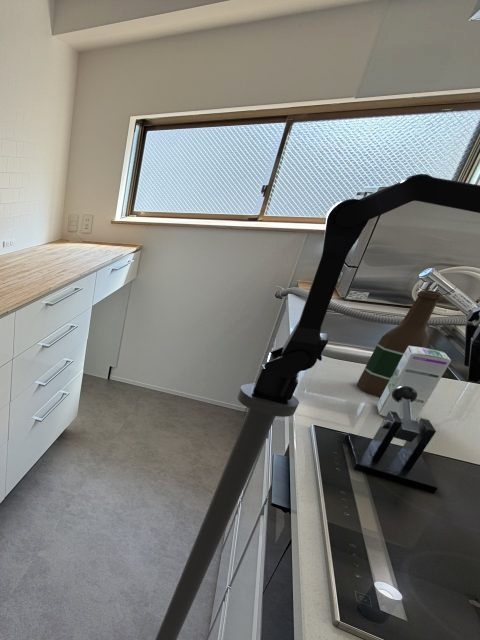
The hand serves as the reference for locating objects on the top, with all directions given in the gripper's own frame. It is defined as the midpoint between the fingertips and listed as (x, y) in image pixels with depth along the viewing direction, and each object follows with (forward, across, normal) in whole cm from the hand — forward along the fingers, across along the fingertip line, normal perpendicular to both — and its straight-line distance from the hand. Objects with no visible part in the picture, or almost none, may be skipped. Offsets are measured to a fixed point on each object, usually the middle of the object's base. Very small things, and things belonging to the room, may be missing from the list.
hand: (470, 373), depth 71 cm
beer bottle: (+15, +24, +8) cm, 30 cm away
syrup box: (+15, +12, +4) cm, 20 cm away
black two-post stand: (+15, -14, +5) cm, 21 cm away
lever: (+8, -9, +6) cm, 13 cm away
